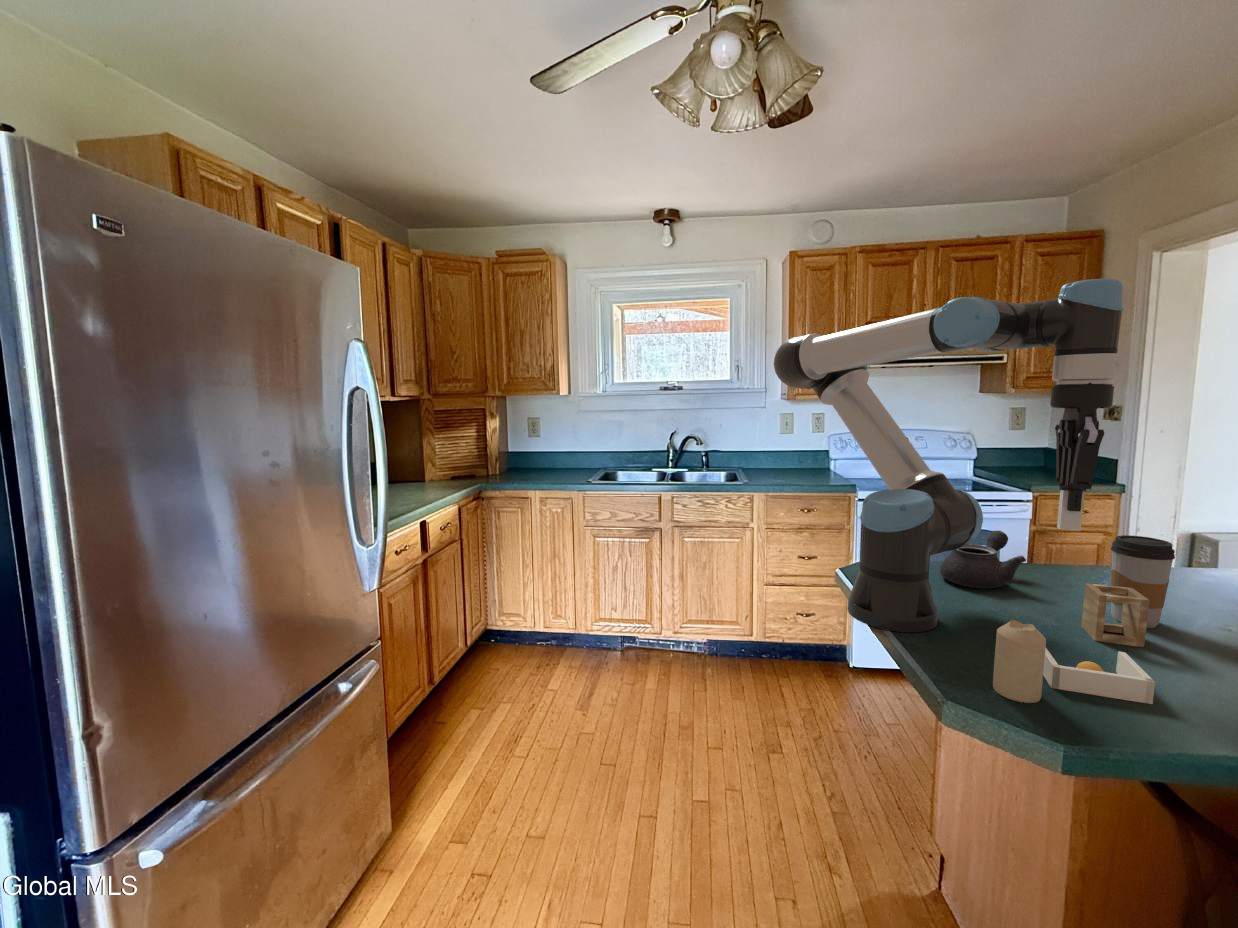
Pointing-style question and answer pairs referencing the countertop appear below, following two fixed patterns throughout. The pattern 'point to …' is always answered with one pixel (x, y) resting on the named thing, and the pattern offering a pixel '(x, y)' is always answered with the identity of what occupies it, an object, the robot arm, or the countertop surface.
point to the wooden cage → (1131, 615)
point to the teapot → (981, 564)
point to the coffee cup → (1142, 572)
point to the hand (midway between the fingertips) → (1068, 529)
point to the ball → (1089, 666)
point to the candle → (1019, 662)
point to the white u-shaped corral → (1102, 680)
